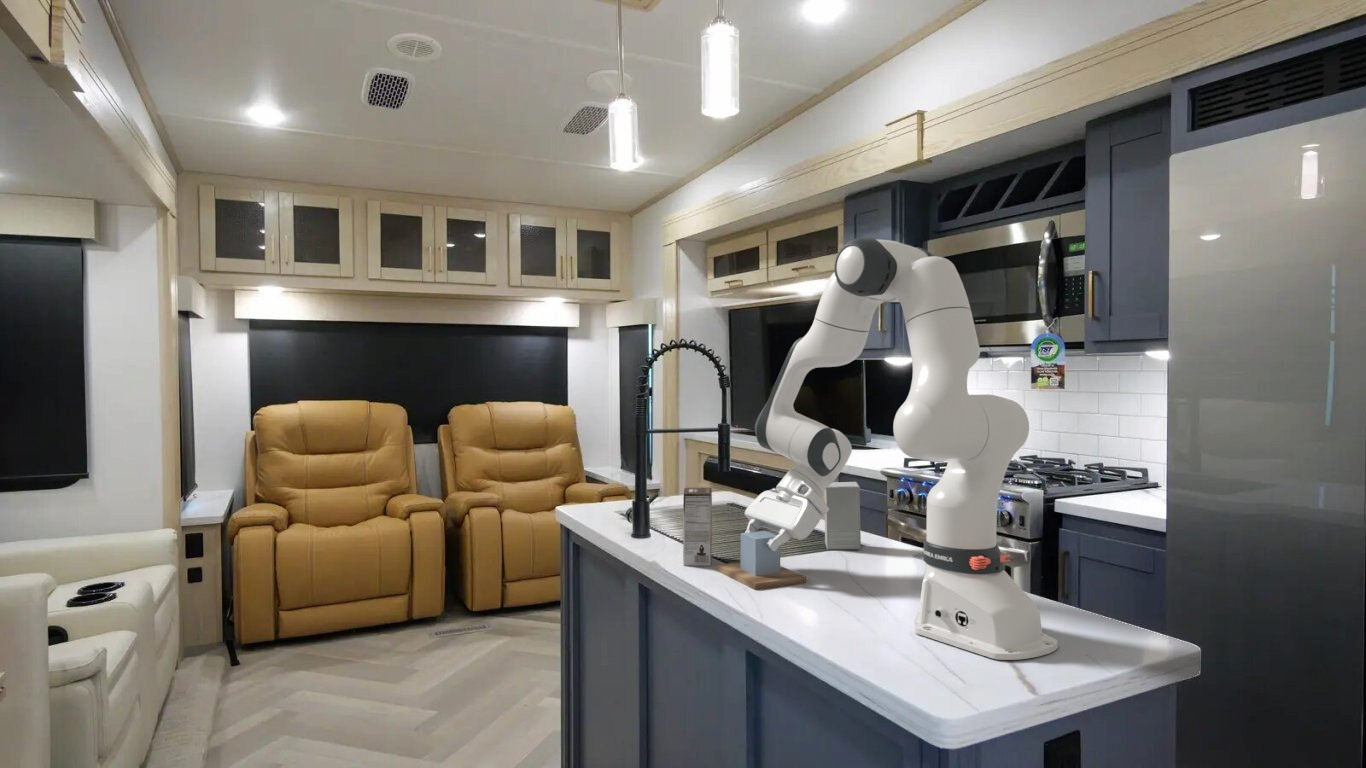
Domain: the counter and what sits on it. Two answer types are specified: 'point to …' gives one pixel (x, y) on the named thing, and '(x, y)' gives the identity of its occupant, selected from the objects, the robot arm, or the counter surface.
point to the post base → (761, 576)
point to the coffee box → (697, 526)
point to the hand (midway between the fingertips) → (757, 543)
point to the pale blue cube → (759, 554)
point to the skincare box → (842, 516)
